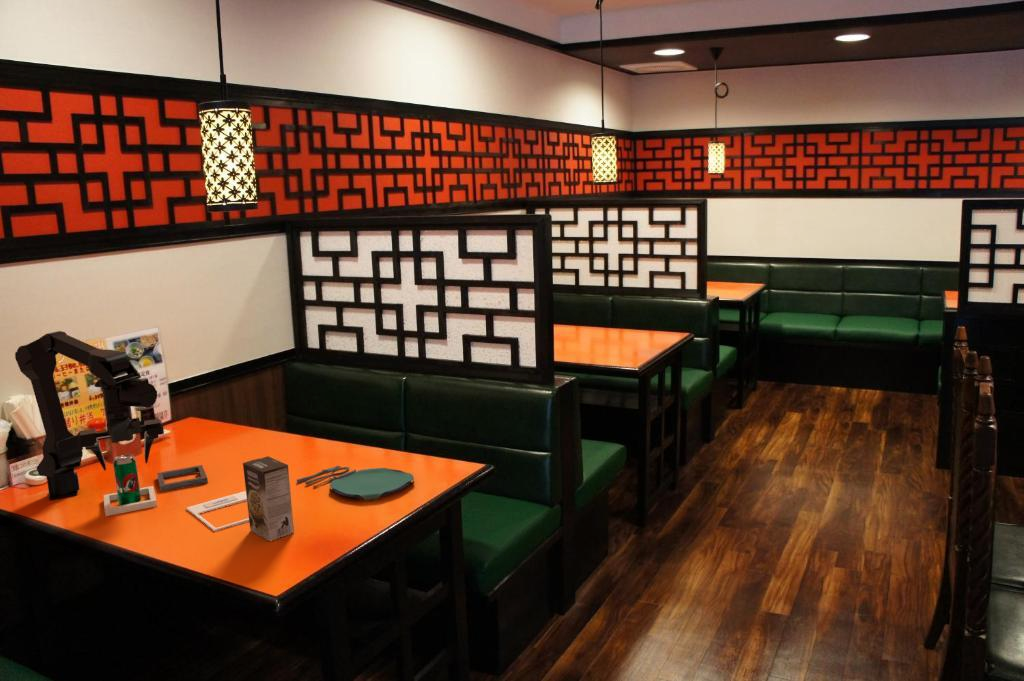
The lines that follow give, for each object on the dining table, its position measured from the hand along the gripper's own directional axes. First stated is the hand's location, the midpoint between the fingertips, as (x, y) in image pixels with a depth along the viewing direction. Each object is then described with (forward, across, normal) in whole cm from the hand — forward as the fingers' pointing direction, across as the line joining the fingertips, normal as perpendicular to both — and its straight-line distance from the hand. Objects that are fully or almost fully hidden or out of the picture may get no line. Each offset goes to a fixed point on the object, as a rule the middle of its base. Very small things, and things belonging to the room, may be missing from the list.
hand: (126, 466), depth 202 cm
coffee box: (+10, +27, -37) cm, 47 cm away
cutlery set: (+10, +52, -18) cm, 56 cm away
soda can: (+10, 0, 0) cm, 10 cm away
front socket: (+10, 0, 0) cm, 10 cm away
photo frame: (+10, +21, -19) cm, 30 cm away
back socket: (+10, +13, +10) cm, 19 cm away
